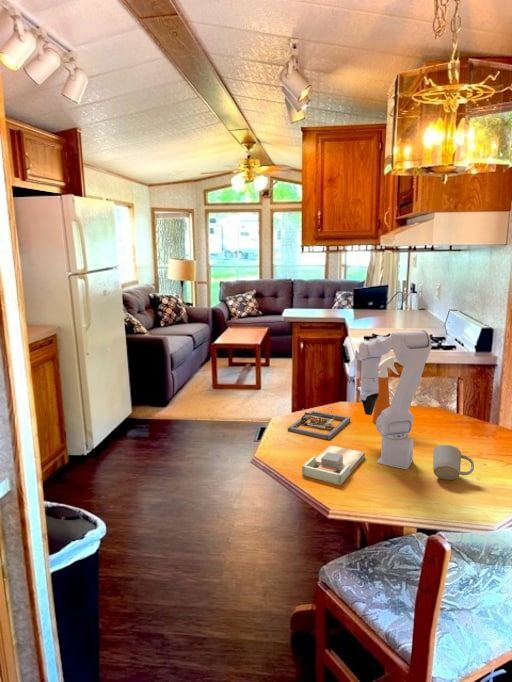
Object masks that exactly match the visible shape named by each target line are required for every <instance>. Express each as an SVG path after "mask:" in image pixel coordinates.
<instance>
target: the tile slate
mask: <svg viewBox="0 0 512 682" xmlns="http://www.w3.org/2000/svg"><path fill="white" fill-rule="evenodd" d="M342 463H343V455H339V454H334V453H330V452H327V453H326V454H325V455H324V456H323V457H322V458H321V465H325V466H329V467H333V468H336V469H338V468H339V467H340V466H341V464H342Z"/></svg>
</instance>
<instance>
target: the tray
mask: <svg viewBox="0 0 512 682" xmlns="http://www.w3.org/2000/svg"><path fill="white" fill-rule="evenodd" d="M316 458H317V456H315V455H313V456H312V457H311V458H309V460H308V461H306V462H305V463H304V464H303V465H302V468H301V469H302V470H301V472H302V473H301V475H302V476H305V477H309V478H313V479H316V480H320V481H323V482H327V483H329V484H330V483H331V484H335V485H339V486H341V485H342V484H343V483H344V482H345V481H346V480H347V479H348V477H349V476H350V475H351V474H350V464H347V465H346V466H345V468H344V469H343V470H342V471H341V472H340V471H339V472H336V473H334V472H330V471H326V470H322V469H317V468H318V467H317V468H316Z"/></svg>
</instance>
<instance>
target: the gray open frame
mask: <svg viewBox="0 0 512 682" xmlns="http://www.w3.org/2000/svg"><path fill="white" fill-rule="evenodd" d="M308 413H311V414H316V415H323V416H327V417H334V420H335V419H338V420H337V421H340V420H343V421H340V422H339V423H338V424H337V425H336V426H335V427H334V428H333V429H332V430H330V431H329V432H328V433H323V432H317V431H313V430H307V429H303V428H298V426H297V425H299V424H300V423H302V422H303V420H302V421H301V418H299V419H297V420H296V421H295V422H294V423H292V424H291V425H289V426H288V427H287V431H288V430H290V431H289V432H291V431H294V432H293V433H296V432H299V433H298V434H300V433H303V434H302V435H305V434H307V435H306V436H309V435H311V437H314V436H315V438H318V437H319V439H323V438H324V440H327V439H328V440H329V439H330V438H331V439H333V437H335V436H336V435H337V434H338V433H339V432H340V431H341V430H342V429H343V428H344V427H346V426H347V425H348V424H349V423H350V422H351V416H347V415H345V416H344V415H339V414H338V415H337V414H333V413H328V412H322V411H317V410H310V411H309V412H308ZM305 417H306V418H308V417H307V416H306V415H305ZM305 417H304V418H305ZM348 422H349V423H348ZM303 423H304V422H303ZM303 423H302V424H303ZM347 423H348V424H347ZM346 424H347V425H346ZM300 425H301V424H300ZM300 425H299V426H300ZM345 425H346V426H345ZM296 426H297V427H296ZM295 427H296V428H295ZM340 429H341V430H340ZM339 430H340V431H339ZM338 431H339V432H338ZM337 432H338V433H337ZM331 439H330V440H331ZM330 440H329V441H330Z"/></svg>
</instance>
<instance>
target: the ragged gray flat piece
mask: <svg viewBox="0 0 512 682" xmlns="http://www.w3.org/2000/svg"><path fill="white" fill-rule="evenodd" d="M317 409H319V407H317ZM324 409H325V408H324ZM324 409H323V411H324ZM326 409H327V410H326V411H329V409H333V408H332V406H327V408H326ZM301 411H304V408H302V410H301ZM330 412H331V413H332V412H333V410H331V411H330ZM305 415H306V416H307V417H308V418H306V417H305ZM304 417H305V418H304ZM309 417H310V418H309ZM300 419H301V421H302V420H303V421H304V420H306V421H304V425H305V424H307V425H306V426H309V427H314V428H321V429H323V428H324V427H325V428H324V429H323V430H328V429H332V426H333V424H332V423H334V422H333V421H335V419H334V417H327V416H323V415H316V414H311V413H309V412H306V411H304V415H303V416H301V417H300ZM307 421H311V422H310V423H308V422H307ZM312 422H315V423H312ZM317 423H320V424H317ZM321 423H322V424H321ZM313 424H314V425H313ZM327 428H328V429H327Z"/></svg>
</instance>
